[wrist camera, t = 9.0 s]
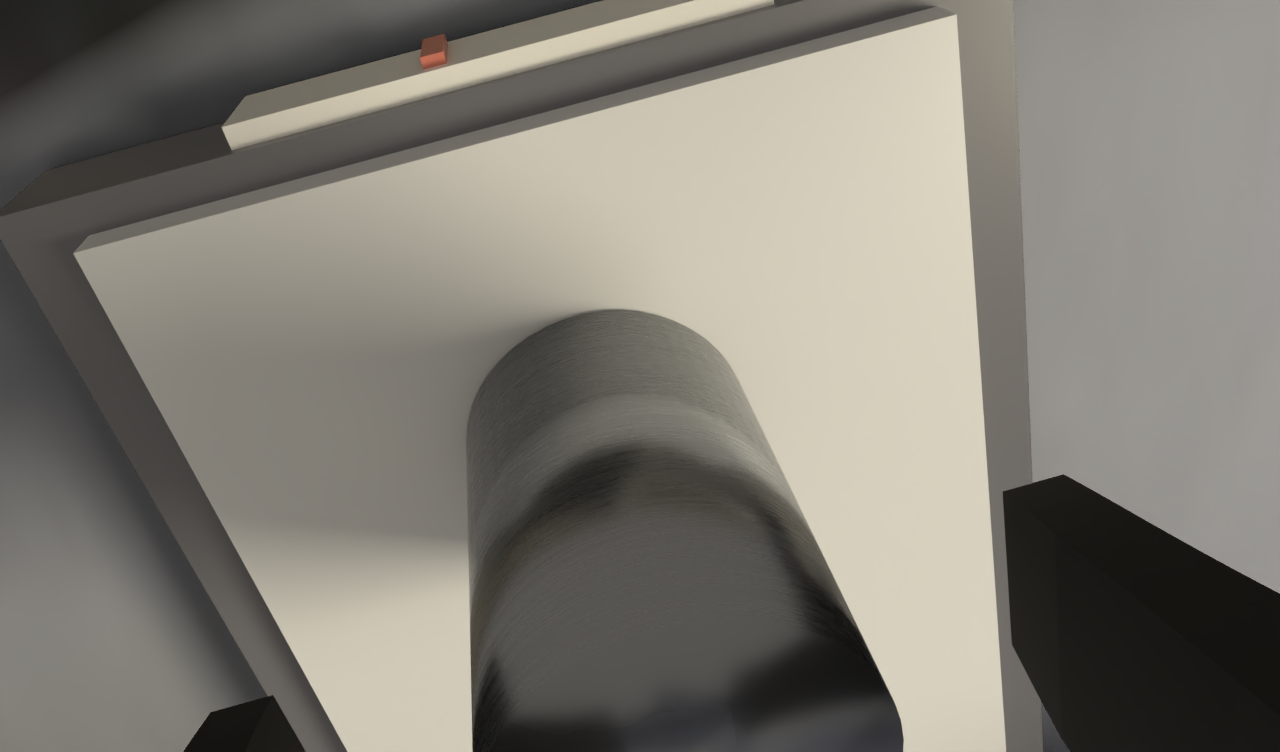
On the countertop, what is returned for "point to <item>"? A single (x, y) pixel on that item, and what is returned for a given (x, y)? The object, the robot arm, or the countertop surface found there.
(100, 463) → the countertop surface
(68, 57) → the countertop surface
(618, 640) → the cylinder
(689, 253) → the kitchen scale
